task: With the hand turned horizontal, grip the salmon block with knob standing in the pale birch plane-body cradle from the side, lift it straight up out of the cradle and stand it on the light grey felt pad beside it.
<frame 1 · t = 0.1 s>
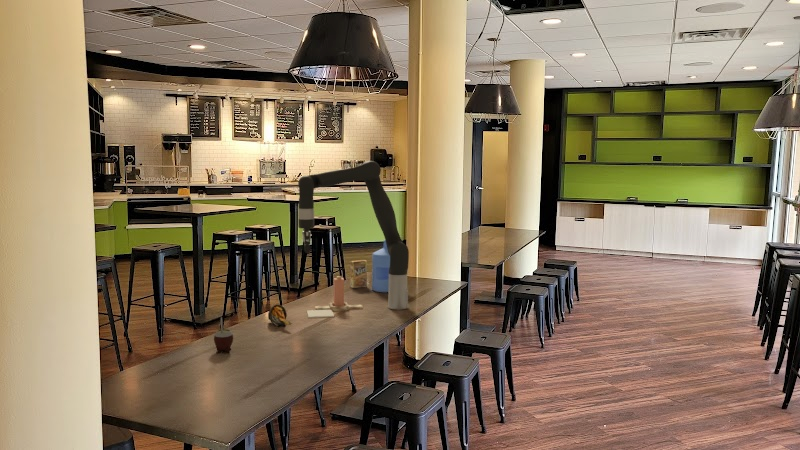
hand: (306, 251, 301), 29 cm above the table, tool pointing down, fingers open, 8 cm apart
water jug: (385, 290, 355), on the table
mate gourd: (224, 352, 240), on the table
salmon block with knob: (338, 292, 309), in the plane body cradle
fried shrimp in bowl: (280, 326, 278), on the table
candy box: (358, 287, 361), on the table
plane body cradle: (338, 308, 310), on the table
felt pad: (320, 314, 298), on the table
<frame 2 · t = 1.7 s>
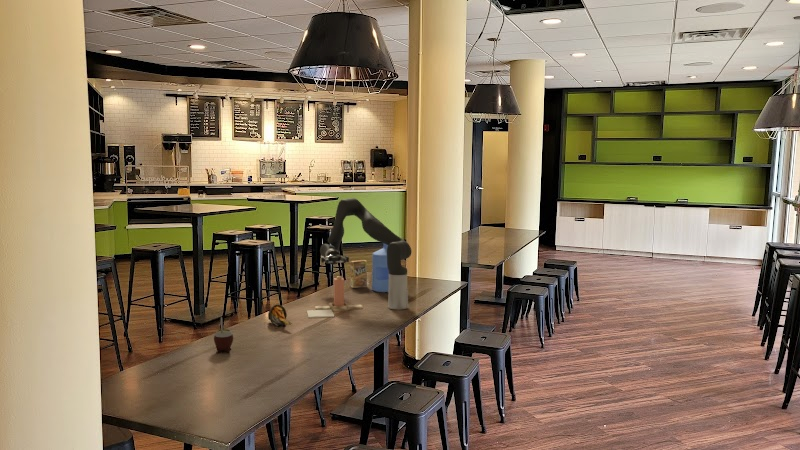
hand: (336, 261, 318), 22 cm above the table, tool horizontal, fingers open, 8 cm apart
nothing on the table moved.
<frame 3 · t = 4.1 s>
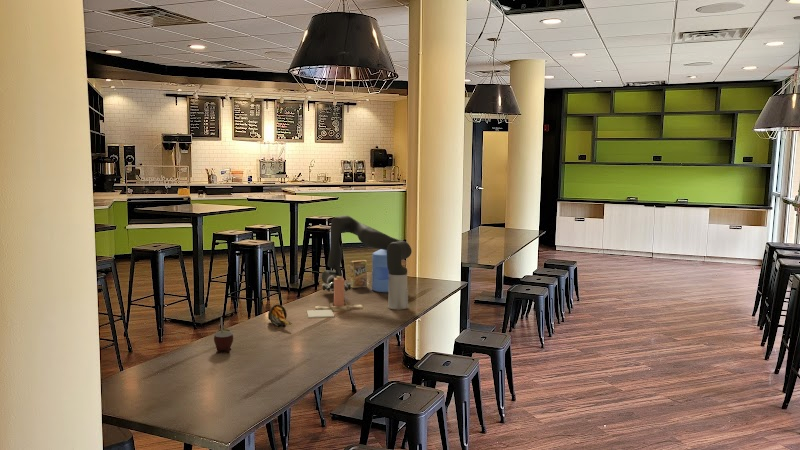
hand: (337, 289, 315), 8 cm above the table, tool horizontal, fingers open, 8 cm apart
nothing on the table moved.
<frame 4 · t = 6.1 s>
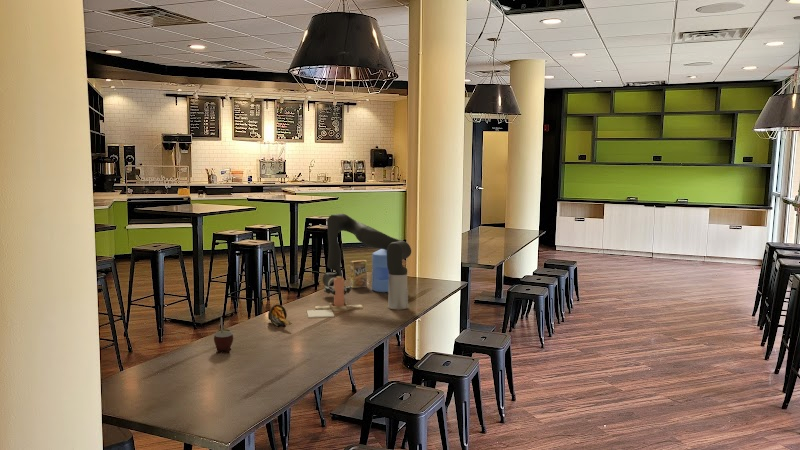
hand: (339, 292, 307), 9 cm above the table, tool horizontal, fingers closed on salmon block with knob, 4 cm apart
salmon block with knob: (338, 292, 309), in the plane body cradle, touching gripper
everything else where it was.
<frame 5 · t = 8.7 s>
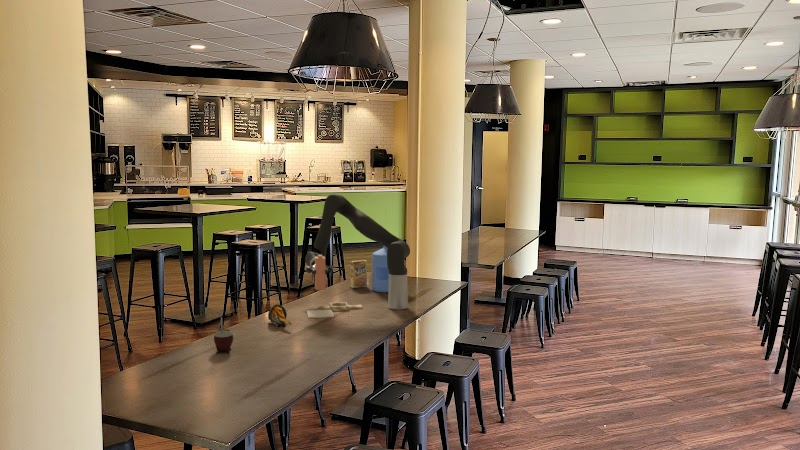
hand: (320, 272, 294), 21 cm above the table, tool horizontal, fingers closed on salmon block with knob, 4 cm apart
salmon block with knob: (320, 272, 296), point 20 cm above the table, touching gripper
everything else where it was.
when the fingers open (10 cm above the table, at t = 11.1 s): salmon block with knob drops 1 cm, resting on felt pad.
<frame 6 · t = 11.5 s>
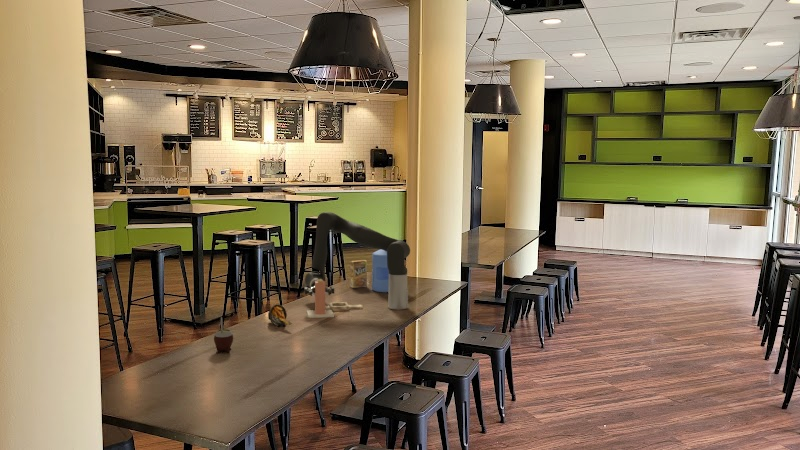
hand: (320, 293, 295), 10 cm above the table, tool horizontal, fingers open, 8 cm apart
salmon block with knob: (320, 296, 298), on the felt pad, point 9 cm above the table
everything else where it was.
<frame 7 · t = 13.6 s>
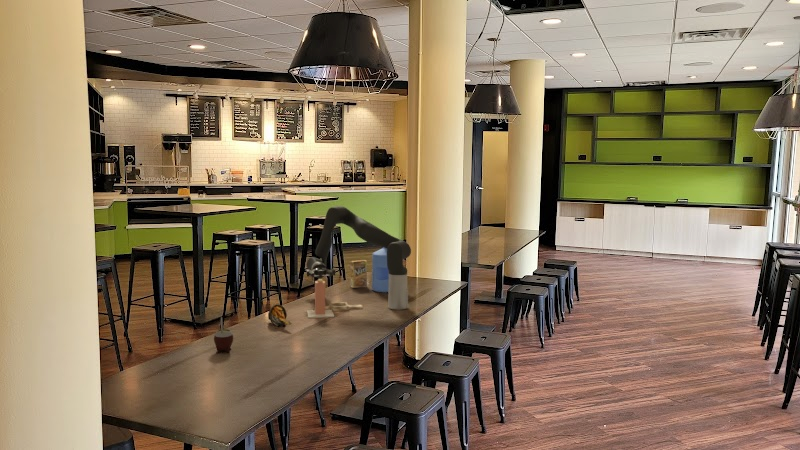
hand: (322, 274, 309), 17 cm above the table, tool horizontal, fingers open, 8 cm apart
nothing on the table moved.
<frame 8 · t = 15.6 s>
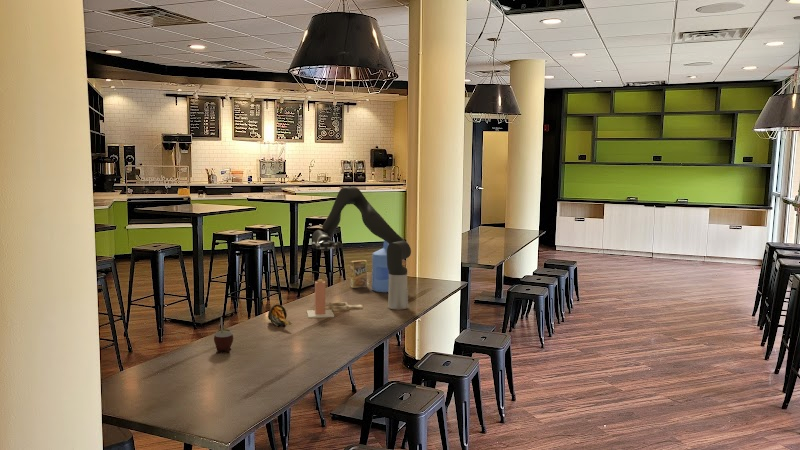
hand: (327, 247, 311), 30 cm above the table, tool horizontal, fingers open, 8 cm apart
nothing on the table moved.
at the end: salmon block with knob inside the target area on the felt pad (0.1 cm from its centre), point 8.6 cm above the felt pad's base; salmon block with knob tilted 0°; the gripper is holding nothing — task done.
